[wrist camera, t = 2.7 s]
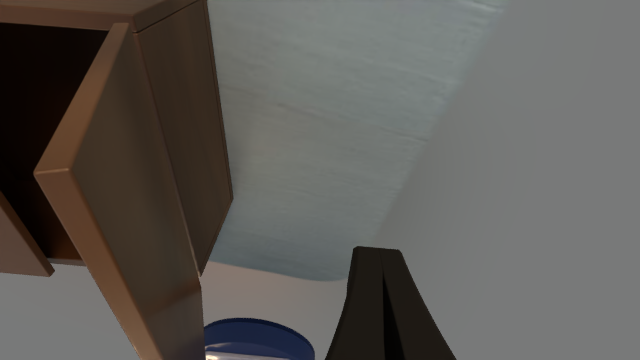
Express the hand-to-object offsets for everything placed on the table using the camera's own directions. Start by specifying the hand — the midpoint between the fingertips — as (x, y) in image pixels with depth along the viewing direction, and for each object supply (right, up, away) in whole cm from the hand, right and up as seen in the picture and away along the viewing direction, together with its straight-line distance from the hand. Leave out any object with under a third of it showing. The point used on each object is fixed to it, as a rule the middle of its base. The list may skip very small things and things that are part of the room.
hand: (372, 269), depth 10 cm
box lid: (-6, 0, 0) cm, 6 cm away
